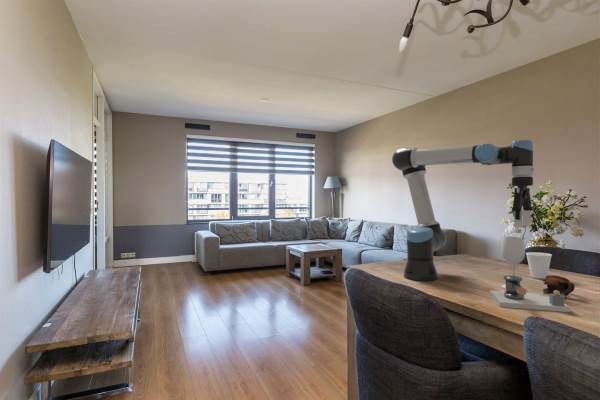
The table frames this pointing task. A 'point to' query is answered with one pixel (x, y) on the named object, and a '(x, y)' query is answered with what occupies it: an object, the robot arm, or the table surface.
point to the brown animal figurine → (558, 285)
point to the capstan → (514, 287)
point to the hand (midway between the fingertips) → (522, 226)
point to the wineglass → (513, 252)
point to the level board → (533, 301)
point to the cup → (538, 264)
